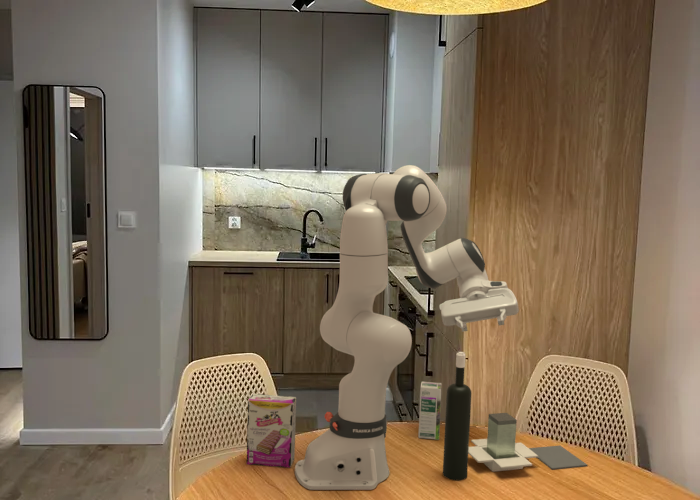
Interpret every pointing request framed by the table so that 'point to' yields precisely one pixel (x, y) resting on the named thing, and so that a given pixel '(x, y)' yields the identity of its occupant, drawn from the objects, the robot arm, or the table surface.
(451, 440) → the wine bottle
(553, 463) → the mat
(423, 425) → the syrup box
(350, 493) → the table surface
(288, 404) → the candy bar box
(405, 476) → the table surface
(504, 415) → the tea tin
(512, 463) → the carton
